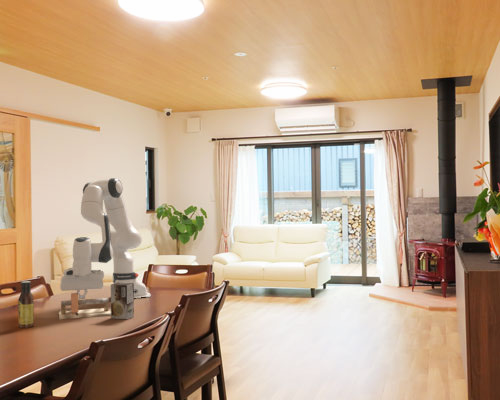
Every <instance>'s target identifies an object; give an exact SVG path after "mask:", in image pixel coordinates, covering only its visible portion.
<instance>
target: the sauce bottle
mask: <svg viewBox="0 0 500 400" xmlns="http://www.w3.org/2000/svg"><path fill="white" fill-rule="evenodd" d="M31 285H32V281H31V280H30V281H29V280H23V281H20V287H21V289H20V290H21V291H20V295H19V297H18V300H17V303H18V304H17V305H18V307H17V308H18V309H17V312H18V320H17V321H18V327H19V328H21V329H26V328H28V329H29V328H31V327H34V325H35V324H34V322H35V314H34V313H35V307H34V306H35V303H34V295H33V294H32V292H31V291H32V290H31Z"/></svg>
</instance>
